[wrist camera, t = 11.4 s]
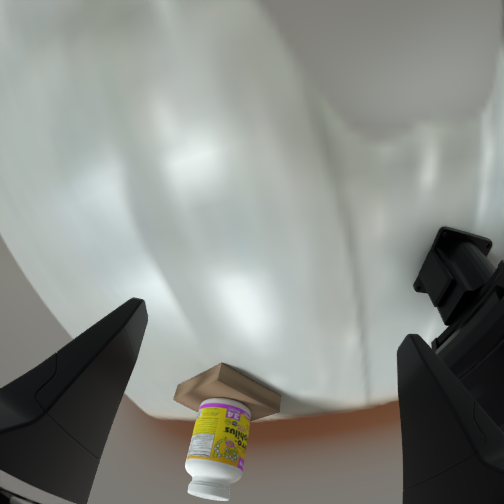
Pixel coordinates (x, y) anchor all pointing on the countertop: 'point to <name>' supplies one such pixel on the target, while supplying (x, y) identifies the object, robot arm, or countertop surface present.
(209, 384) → the walnut pedestal
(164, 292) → the countertop surface
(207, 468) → the supplement bottle
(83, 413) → the robot arm
